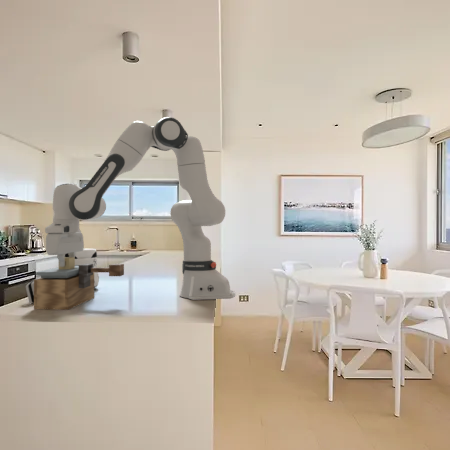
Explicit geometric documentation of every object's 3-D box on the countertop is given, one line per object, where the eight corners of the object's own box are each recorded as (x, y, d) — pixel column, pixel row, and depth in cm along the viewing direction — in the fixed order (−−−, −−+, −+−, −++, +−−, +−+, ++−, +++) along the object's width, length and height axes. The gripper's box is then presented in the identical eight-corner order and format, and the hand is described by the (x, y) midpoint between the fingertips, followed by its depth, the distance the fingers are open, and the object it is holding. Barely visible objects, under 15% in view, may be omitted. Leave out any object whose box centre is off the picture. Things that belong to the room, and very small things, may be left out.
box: (101, 297, 139) (101, 261, 139) (76, 309, 119) (76, 267, 119) (64, 297, 140) (64, 261, 140) (33, 309, 120) (33, 267, 120)
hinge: (42, 303, 128) (33, 278, 129) (30, 308, 129) (21, 282, 129) (66, 295, 145) (58, 272, 145) (56, 298, 146) (48, 275, 146)
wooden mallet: (123, 274, 130) (123, 263, 130) (119, 276, 126) (119, 265, 126) (95, 274, 131) (94, 263, 131) (90, 276, 127) (90, 264, 127)
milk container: (106, 287, 163) (106, 248, 163) (82, 294, 147) (82, 251, 147) (75, 285, 168) (75, 248, 168) (47, 292, 151) (47, 250, 151)
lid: (93, 271, 139) (93, 255, 139) (68, 278, 120) (67, 260, 120) (65, 271, 140) (65, 255, 140) (35, 278, 121) (35, 260, 121)
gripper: (72, 227, 141) (72, 262, 141) (42, 228, 120) (42, 268, 120) (87, 227, 140) (88, 262, 140) (59, 228, 120) (60, 268, 120)
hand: (66, 265), depth 130 cm, fingers closed on lid, 4 cm apart
